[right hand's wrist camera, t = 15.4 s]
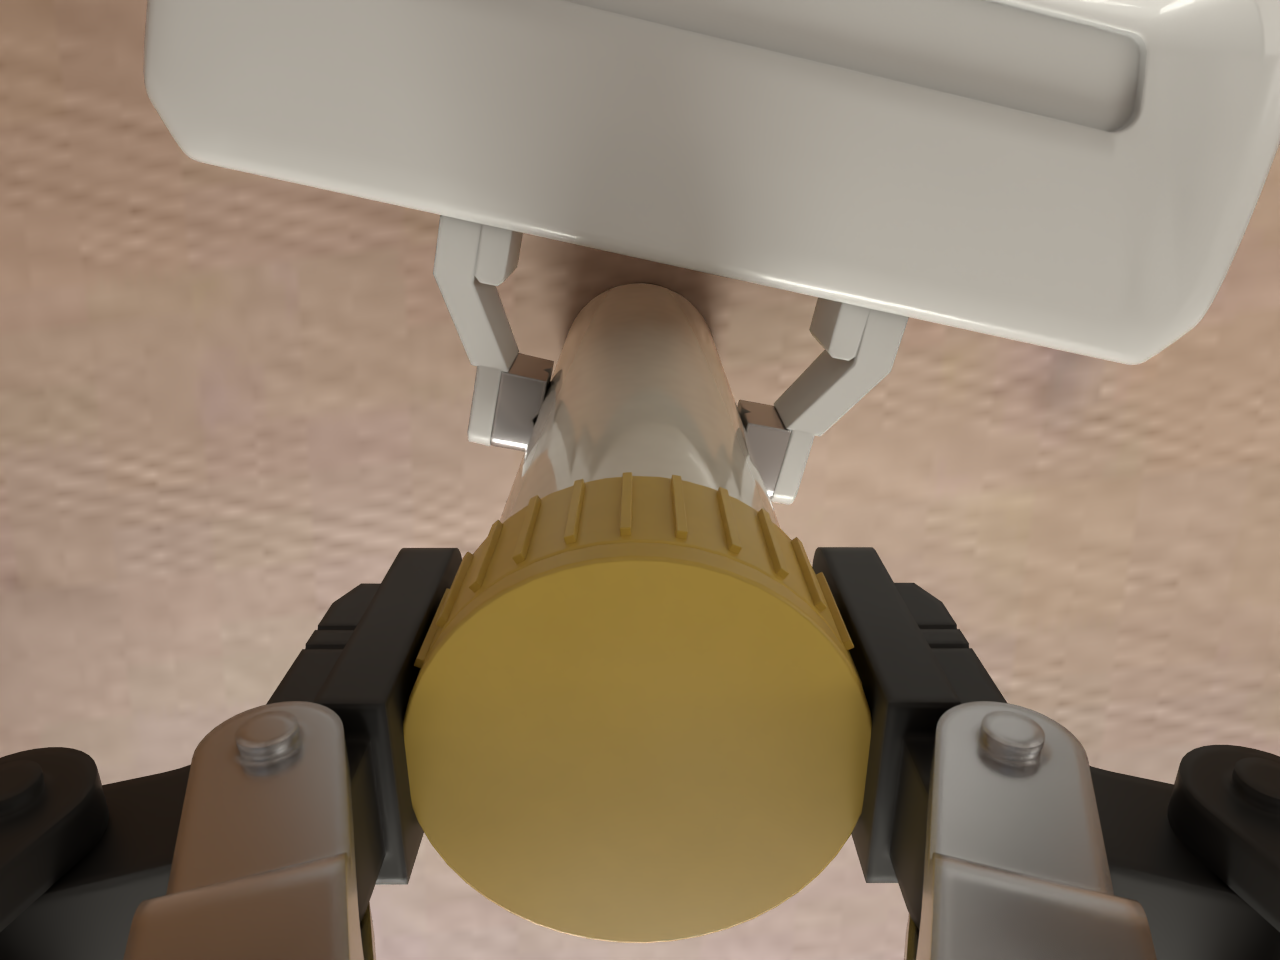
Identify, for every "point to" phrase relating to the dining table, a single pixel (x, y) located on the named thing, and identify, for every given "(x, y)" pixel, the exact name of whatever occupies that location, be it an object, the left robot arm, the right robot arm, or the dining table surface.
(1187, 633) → the dining table surface
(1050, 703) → the dining table surface
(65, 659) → the dining table surface
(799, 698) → the lid
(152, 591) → the dining table surface
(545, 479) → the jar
